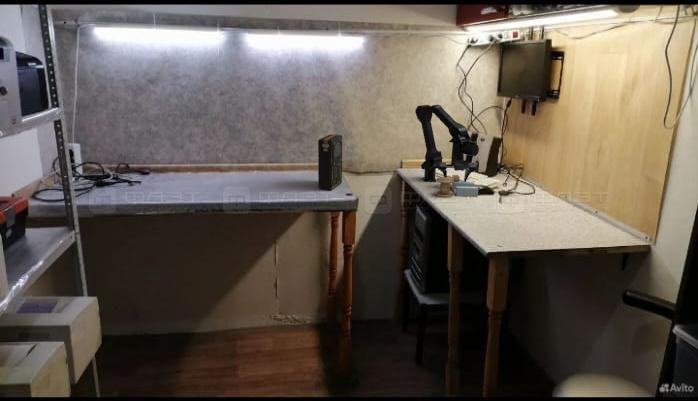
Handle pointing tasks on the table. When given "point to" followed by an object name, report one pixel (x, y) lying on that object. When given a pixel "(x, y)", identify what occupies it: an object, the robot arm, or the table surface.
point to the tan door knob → (444, 187)
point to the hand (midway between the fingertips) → (455, 183)
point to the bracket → (465, 189)
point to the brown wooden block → (455, 178)
